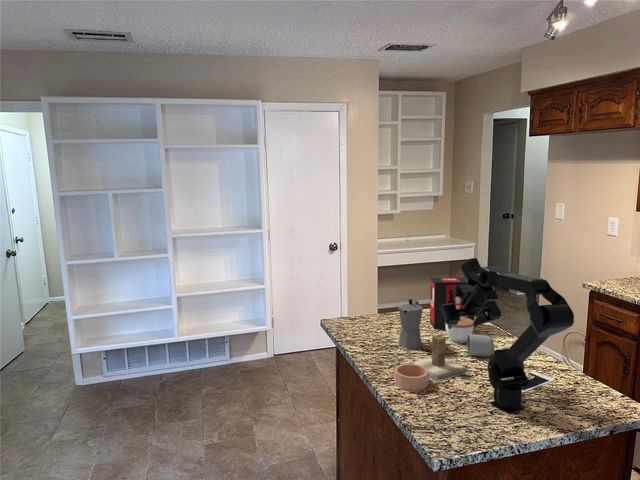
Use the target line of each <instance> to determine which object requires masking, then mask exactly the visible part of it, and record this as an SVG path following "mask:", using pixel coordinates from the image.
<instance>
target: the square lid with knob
mask: <svg viewBox="0 0 640 480" xmlns="http://www.w3.org/2000/svg"><path fill="white" fill-rule="evenodd" d="M446 340H447V339H446V337H445V336H442V335H440V334H438V335H434V336H432V337H431V356H430V357H427V358H423V359H419V360H416V361H412V362H411V363H412V364H416V365H421V366H423V367H425V368H427V370H428V372H429V374H430V375H432V376H434V377H436V378H437V379H438V378H441V377H445V376H448V375H451V374H454V373H458V372H461V371H464V370H465V368H466V367H465V366H464V365H461V364H459V363H457V362H455V361H453V360H450V359H448V358H446Z"/></svg>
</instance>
